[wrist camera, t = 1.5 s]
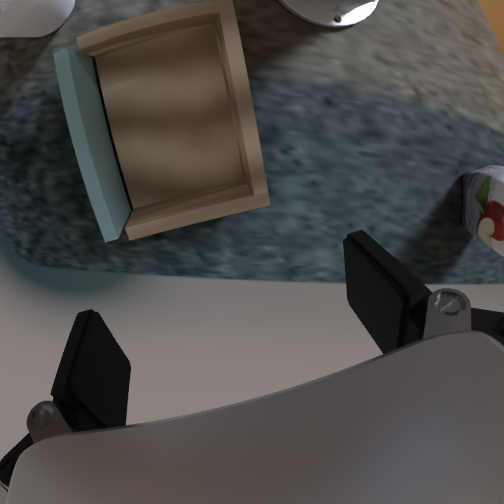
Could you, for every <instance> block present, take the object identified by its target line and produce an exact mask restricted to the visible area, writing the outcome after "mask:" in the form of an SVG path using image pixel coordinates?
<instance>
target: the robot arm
mask: <svg viewBox="0 0 504 504" xmlns="http://www.w3.org/2000/svg"><path fill="white" fill-rule="evenodd" d="M278 1H279V2H280V3H281V4H282V5H283V6H284V7H285V8H286V9H287V10H289V11H290V12H291V13H293V14H294V15H296V16H297V17H299V18H301V19H303V20H305V21H307V22H310V23H313V24H315V25H319V26H324V27H334V28H339V27H347V26H350V25H354V24H356V23H359V22H361V21H363V20H365V19H366V18H367V17H368V16H370V15H371V13H372V12H373V11H374V9H375V8H376V6H377V3H378V0H278ZM334 19H335V20H336V22H335V21H334ZM343 248H344V260H345V273H346V285H347V286H346V287H347V299H348V303H349V305H350V306H351V308H352V309H353V311H354V312H355V314H356V315H357V316H358V318H359V319H360V321H361V322H362V324H363V325H364V326H365V328H366V329H367V331H368V332H369V334H370V335H371V337H372V338H373V339H374V341H375V342H376V344H377V345H378V347H379V348H380V350H381V351H382V353H383V354H382V355H380V356H378V357H375V358H373V359H370V360H367V361H365V362H362V363H359V364H357V365H354V366H351V367H349V368H346V369H344V370H341V371H338V372H335V373H333V374H330V375H327V376H324V377H321V378H318V379H316V380H313V381H310V382H307V383H304V384H301V385H297V386H294V387H291V388H288V389H285V390H281V391H278V392H275V393H272V394H268V395H265V396H261V397H258V398H254V399H250V400H247V401H243V402H239V403H236V404H231V405H227V406H223V407H219V408H216V409H211V410H207V411H202V412H198V413H193V414H188V415H183V416H178V417H173V418H168V419H162V420H157V421H151V422H145V423H139V424H132V425H126V414H127V402H128V392H129V382H130V373H131V365H130V362H129V360H128V358H127V357H126V355H125V354H124V352H123V351H122V349H121V348H120V346H119V345H118V343H117V342H116V340H115V338H114V337H113V335H112V334H111V332H110V330H109V329H108V327H107V326H106V324H105V322H104V321H103V319H102V317H101V316H100V314H99V313H98V312H94V311H93V310H92V309H90V310H86V311H83V312H79V313H78V314H77V316H76V319H75V321H74V324H73V327H72V330H71V332H70V335H69V338H68V341H67V343H66V346H65V349H64V352H63V355H62V358H61V361H60V364H59V367H58V371H57V374H56V377H55V380H54V384H53V387H52V390H51V395H52V396H53V397H54V398H53V401H52V402H51V401H43V402H40V403H38V404H37V405H35V406H34V407H33V408H32V409H31V411H30V413H29V415H28V417H27V428H28V431H29V433H28V434H27V435H26V436H25V437H24V438H23V439H22V440H21V441H20V442H19V443H18V444H17V445H16V446H15V447H14V448H13V449H11V450H10V451H9V452H8V453H7V454H6V455H5V456H4V457H3V459H2V460H1V461H0V504H504V313H503V312H496V311H490V310H483V309H477V308H471V304H470V301H469V299H468V298H467V296H466V295H465V294H464V293H462V292H460V291H458V290H455V289H450V288H444V289H439V290H437V291H435V292H433V293H432V292H431V291H430V290H429V289H428V288H427V287H426V286H425V285H424V284H423V283H422V282H421V281H420V280H419V279H418V278H417V277H415V276H414V275H413V274H412V273H411V272H410V271H409V270H408V269H407V268H406V267H405V266H404V265H403V264H401V263H400V262H399V261H398V260H397V259H396V258H394V257H393V256H392V255H391V254H389V253H388V252H387V251H386V250H385V249H384V248H383V247H382V246H380V245H379V244H378V243H377V242H376V241H375V240H374V239H373V238H371V237H370V236H369V235H368V234H367V233H366V232H364V231H363V230H359V231H356V232H353V233H349V234H348V235H347V238H346V239H344V240H343Z"/></svg>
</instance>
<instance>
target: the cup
mask: <svg viewBox="0 0 504 504" xmlns="http://www.w3.org/2000/svg"><path fill="white" fill-rule="evenodd" d="M74 4H75V0H0V37H42V36H45V35H48V34H50V33H52V32H53V31H55V30H56V29H58V28H59V27H60V26H61V25H62V24H63V23H64V22H65V21H66V20H67V18H68V17H69V15H70V14H71V12H72V10H73V7H74Z"/></svg>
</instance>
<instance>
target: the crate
mask: <svg viewBox="0 0 504 504" xmlns="http://www.w3.org/2000/svg"><path fill="white" fill-rule="evenodd" d="M76 39H77V45H78V50H79V51H81V52H83V53H86V54H88V55H90V56H93V57H95V59H96V65H97V70H98V75H99V80H100V85H101V89H102V94H103V98H104V103H105V107H106V111H107V116H108V120H109V124H110V128H111V132H112V136H113V140H114V144H115V147H116V151H117V155H118V158H119V162H120V165H121V169H122V173H123V176H124V179H125V183H126V186H127V189H128V193H129V196H130V199H131V202H132V206H133V211H132V213H131V216H130V218H129V220H128V222H127V225H126V227H125V230H126V232H127V235H128V238H129V241H130V240H134V239H137V238H141V237H145V236H149V235H152V234H156V233H160V232H164V231H167V230H171V229H175V228H179V227H183V226H187V225H191V224H195V223H199V222H203V221H207V220H211V219H215V218H219V217H223V216H227V215H231V214H235V213H240V212H244V211H248V210H252V209H257V208H261V207H265V206H270V200H269V194H268V188H267V182H266V176H265V170H264V164H263V158H262V152H261V147H260V141H259V135H258V130H257V124H256V118H255V113H254V107H253V102H252V96H251V91H250V86H249V80H248V75H247V70H246V65H245V59H244V54H243V49H242V44H241V39H240V34H239V29H238V24H237V19H236V14H235V9H234V4H233V0H210V1H204V2H198V3H192V4H187V5H182V6H177V7H173V8H168V9H164V10H160V11H156V12H152V13H148V14H145V15H141V16H137V17H134V18H131V19H127V20H124V21H121V22H118V23H115V24H112V25H109V26H106V27H103V28H100V29H97V30H95V31H92V32H89V33H87V34H84V35H82V36H79V37H77V38H76Z"/></svg>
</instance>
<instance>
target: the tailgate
mask: <svg viewBox="0 0 504 504" xmlns="http://www.w3.org/2000/svg"><path fill="white" fill-rule="evenodd" d="M53 55H54V61H55V67H56V72H57V78H58V83H59V88H60V93H61V97H62V102H63V106H64V111H65V115H66V119H67V123H68V127H69V131H70V135H71V139H72V143H73V146H74V150H75V153H76V157H77V160H78V164H79V167H80V170H81V174H82V177H83V180H84V183H85V186H86V190H87V193H88V196H89V199H90V202H91V205H92V207H93V210H94V213H95V216H96V219H97V222H98V224H99V227H100V230H101V233H102V235H103V238H104V240H105V242H109V241H112V240H116V239H118V238H119V236H120V234H121V231H122V229H123V227H124V225H125V222H126V220H127V218H128V216H129V214H130V212H131V208H130V205H129V202H128V198H127V195H126V192H125V189H124V185H123V182H122V179H121V175H120V172H119V168H118V165H117V161H116V158H115V154H114V150H113V147H112V143H111V139H110V135H109V131H108V127H107V123H106V119H105V115H104V111H103V107H102V102H101V98H100V93H99V89H98V84H97V79H96V74H95V69H94V64H93V59H92V57H89V56H87V55H84V54H82V53H79V52H77V51H74V50H72V49H69V48H65V49H63V50H61V51H58V52H56V53H54V54H53Z"/></svg>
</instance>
